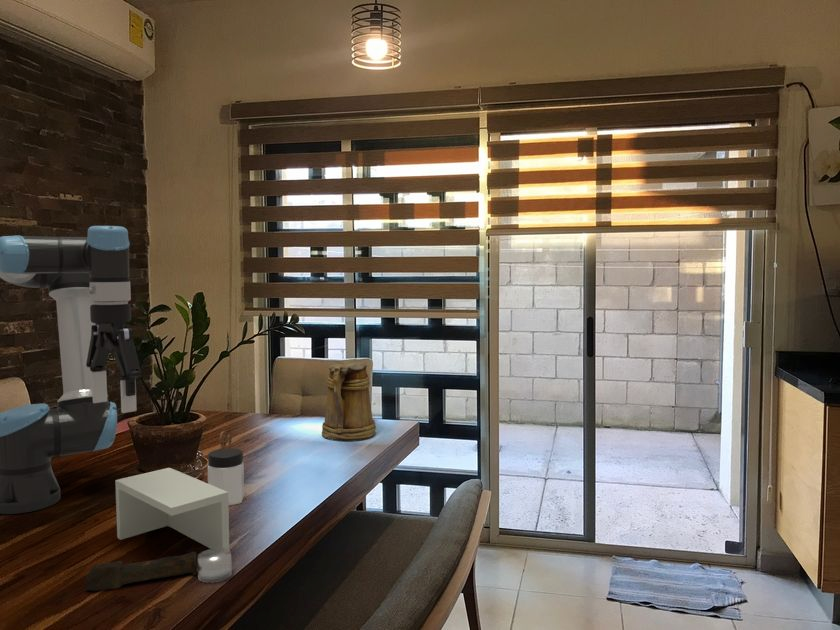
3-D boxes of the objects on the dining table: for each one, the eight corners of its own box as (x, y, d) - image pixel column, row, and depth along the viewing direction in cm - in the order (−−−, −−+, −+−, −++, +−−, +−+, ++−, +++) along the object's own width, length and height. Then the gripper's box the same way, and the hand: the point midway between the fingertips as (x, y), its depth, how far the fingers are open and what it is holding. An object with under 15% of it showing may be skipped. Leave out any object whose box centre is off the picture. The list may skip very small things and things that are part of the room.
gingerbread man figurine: (222, 479, 184) (221, 435, 183) (209, 478, 185) (208, 435, 184) (238, 470, 192) (237, 427, 192) (225, 469, 193) (224, 427, 192)
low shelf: (117, 537, 145) (115, 480, 144) (170, 522, 154) (169, 467, 153) (173, 572, 129) (171, 508, 128) (229, 552, 138) (228, 492, 137)
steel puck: (191, 577, 127) (190, 556, 127) (218, 565, 132) (218, 545, 132) (211, 586, 124) (210, 565, 123) (238, 574, 129) (237, 553, 128)
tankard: (380, 428, 240) (380, 358, 238) (365, 446, 216) (365, 368, 214) (330, 427, 242) (329, 357, 240) (310, 444, 219) (309, 367, 217)
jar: (252, 498, 170) (251, 450, 169) (230, 508, 162) (229, 459, 161) (223, 493, 173) (222, 446, 172) (200, 503, 166) (199, 454, 165)
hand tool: (196, 568, 132) (195, 544, 131) (198, 577, 128) (197, 552, 127) (86, 586, 124) (85, 561, 124) (85, 596, 121) (84, 570, 120)
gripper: (66, 301, 144) (70, 401, 146) (119, 306, 127) (122, 419, 129) (103, 299, 150) (106, 395, 151) (157, 304, 133) (161, 412, 134)
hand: (114, 406), depth 140 cm, fingers open, 13 cm apart
